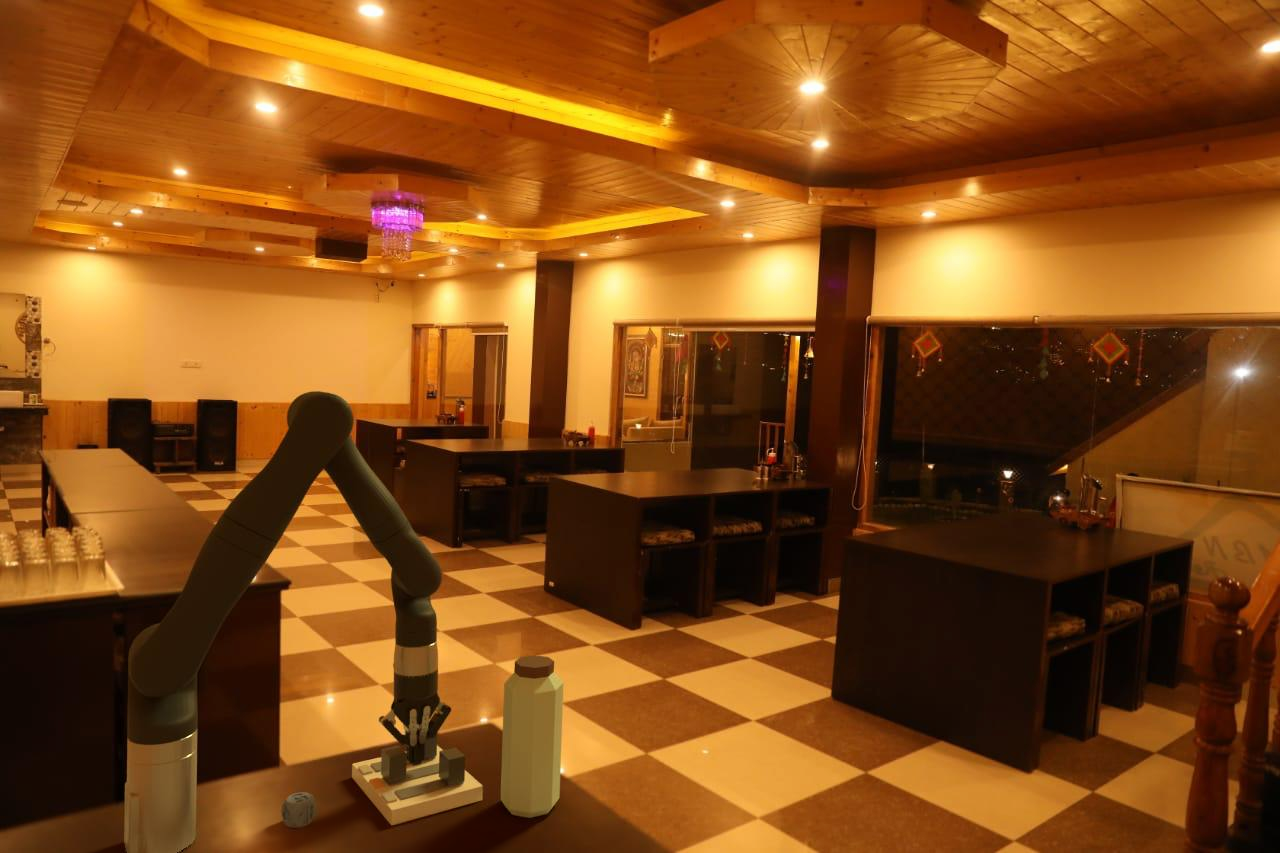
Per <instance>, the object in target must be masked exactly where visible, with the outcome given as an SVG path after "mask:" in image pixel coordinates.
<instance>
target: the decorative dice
mask: <svg viewBox="0 0 1280 853" xmlns="http://www.w3.org/2000/svg"><path fill="white" fill-rule="evenodd" d="M317 807H318V805H317V802H316V799H315V797H314V796H313V794H312V793H309V792H306V791H305V792H303V791H302V792H295V793H292V794H290V795H288V796H287V797H286V799H285V800H284V801H283V803H282V805H281V811H280V812H281V817H282V820H283V823H284V825H285V826H286V827H288V828H291V829H299V828H304V827H307V826H308V825H309V824H311V823H312V822H313V821H314V820H315V818H316V815H317V812H318V810H317V809H318V808H317Z"/></svg>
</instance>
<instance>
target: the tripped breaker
mask: <svg viewBox="0 0 1280 853" xmlns="http://www.w3.org/2000/svg"><path fill="white" fill-rule="evenodd" d="M406 765H407V753H406V750H404V749H403V748H402V747H401V746H400V745H393V746H389V747H385V748H381V775H382V776H383V777H384V778H385V780H386V781H387V782H388V783H393V782H397V781H401V780H405V779H406Z"/></svg>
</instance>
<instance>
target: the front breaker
mask: <svg viewBox="0 0 1280 853" xmlns="http://www.w3.org/2000/svg"><path fill="white" fill-rule="evenodd" d="M442 750H443V751H439V777H440V778H441V779H442V780H443V781H444V782H445V783H446V784H447V785H448V786H449V785H453V784H457V783H461V782H464V780H465V770H466V767H465V766H466V755H465V754H464V753H462V752H461V751H460V750H459V749H458V748H457V747H452V748H448V749H442Z"/></svg>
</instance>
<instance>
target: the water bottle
mask: <svg viewBox="0 0 1280 853" xmlns="http://www.w3.org/2000/svg"><path fill="white" fill-rule="evenodd" d="M513 670H514V672H513V673H512V674H510V676H509V677H508V679H507V680H505V682H504V683H503V706H502V708H503V711H502V712H503V713H502V714H503V715H502V741H501V742H502V743H501V744H502V745H501V747H502V748H501V771H500V772H501V774H500V801H501V802H502V804H503V805H504V808H506V809H507V811H508V812H510V814H511V815H513V816H516V817H517V816H518V817H522V818H530V819H531V818H535V817H539V816H543V815H548V814H549V812H550V811H551V810H552V809H553V807H554V806H555V805H556V803H557V802H558V801H559V799H560V794H561V792H560V791H561V768H562V766H561V763H562V762H561V761H562V739H563V738H562V736H563V734H562V733H563V731H562V730H563V708H564V707H563V703H564V682H563V680H561V678H560V677H559V676H558V675H557V674H556V673H555V661H554V660H553V659H552V658H550V657H549V656H544V655H543V656H542V655H536V654H534V655H533V654H532V655H526V656H520V657H519V658H517V659H516V660H515V661H514V669H513Z"/></svg>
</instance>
